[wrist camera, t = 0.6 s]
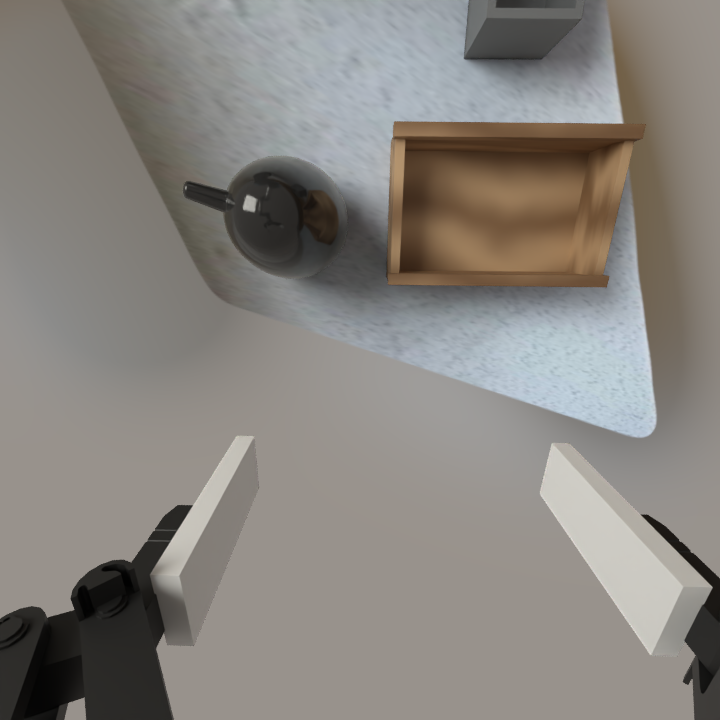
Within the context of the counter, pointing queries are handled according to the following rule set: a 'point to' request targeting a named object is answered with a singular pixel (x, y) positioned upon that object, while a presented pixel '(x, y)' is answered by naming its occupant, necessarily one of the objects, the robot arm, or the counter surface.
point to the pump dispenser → (280, 215)
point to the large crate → (505, 202)
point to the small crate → (518, 27)
